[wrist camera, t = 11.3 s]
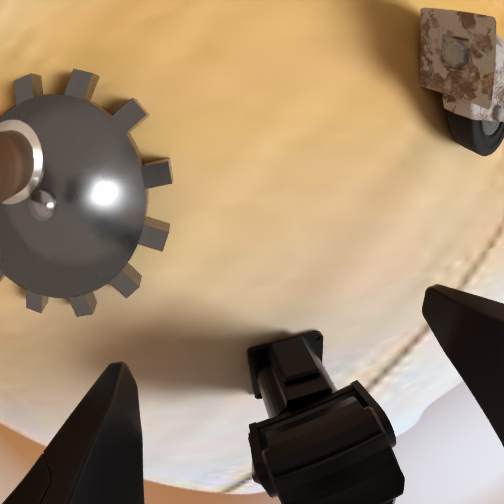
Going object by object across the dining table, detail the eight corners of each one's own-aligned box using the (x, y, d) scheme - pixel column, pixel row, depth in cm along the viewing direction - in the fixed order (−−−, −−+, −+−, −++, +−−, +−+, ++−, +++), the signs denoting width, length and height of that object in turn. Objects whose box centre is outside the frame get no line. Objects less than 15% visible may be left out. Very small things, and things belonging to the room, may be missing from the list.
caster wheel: (468, 136, 24) (408, 139, 22) (477, 32, 17) (415, 5, 15) (520, 164, 19) (475, 173, 17) (536, 48, 12) (492, 14, 10)
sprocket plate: (194, 284, 21) (196, 300, 20) (9, 317, 19) (0, 332, 17) (153, 42, 14) (150, 32, 13) (-50, 123, 12) (-67, 126, 10)
